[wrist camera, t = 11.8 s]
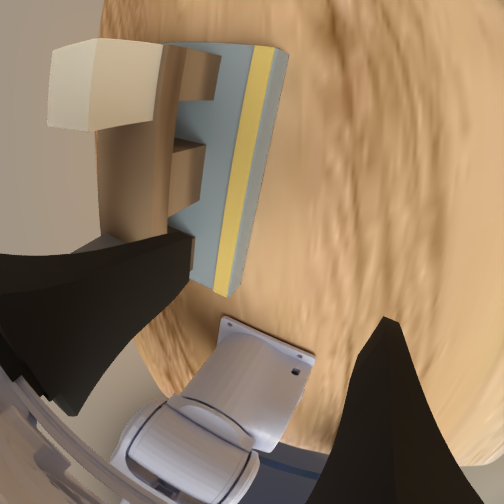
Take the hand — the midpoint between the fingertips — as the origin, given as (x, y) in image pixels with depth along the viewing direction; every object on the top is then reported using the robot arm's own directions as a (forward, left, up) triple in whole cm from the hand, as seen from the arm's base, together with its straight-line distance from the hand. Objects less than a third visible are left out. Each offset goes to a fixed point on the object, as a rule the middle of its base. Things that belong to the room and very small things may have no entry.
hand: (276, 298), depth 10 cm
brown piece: (+11, 0, -8) cm, 14 cm away
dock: (+11, 0, -10) cm, 15 cm away
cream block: (+11, -6, -3) cm, 13 cm away
